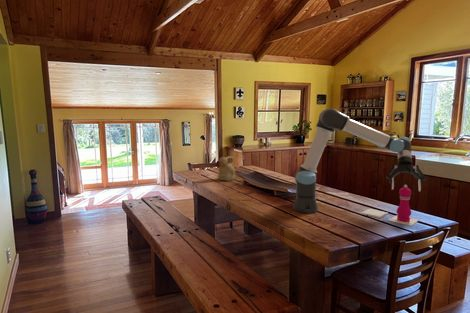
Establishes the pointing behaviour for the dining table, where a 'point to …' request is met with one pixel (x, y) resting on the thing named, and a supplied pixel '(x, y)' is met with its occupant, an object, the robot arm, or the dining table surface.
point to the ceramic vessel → (226, 168)
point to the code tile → (411, 222)
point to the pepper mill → (404, 205)
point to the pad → (374, 213)
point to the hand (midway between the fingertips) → (406, 189)
